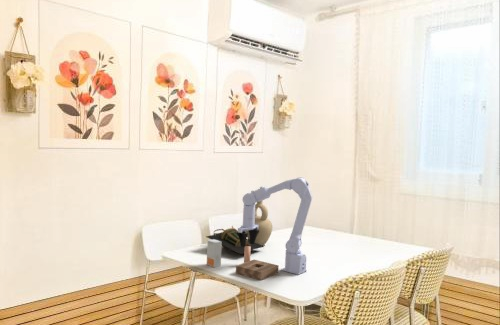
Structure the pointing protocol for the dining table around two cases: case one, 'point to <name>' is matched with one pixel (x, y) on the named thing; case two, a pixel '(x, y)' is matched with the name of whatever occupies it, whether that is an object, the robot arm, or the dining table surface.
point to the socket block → (257, 269)
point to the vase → (262, 224)
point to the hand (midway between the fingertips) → (247, 245)
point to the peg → (247, 253)
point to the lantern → (232, 240)
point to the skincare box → (214, 253)
